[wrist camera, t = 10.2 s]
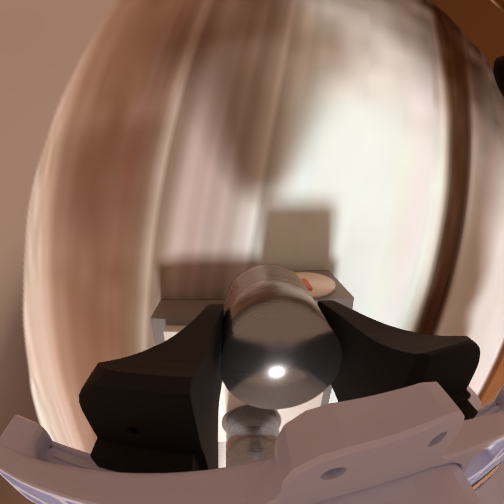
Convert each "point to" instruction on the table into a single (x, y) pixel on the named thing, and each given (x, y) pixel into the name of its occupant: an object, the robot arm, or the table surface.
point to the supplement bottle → (499, 72)
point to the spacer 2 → (276, 340)
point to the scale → (185, 311)
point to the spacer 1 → (250, 435)
